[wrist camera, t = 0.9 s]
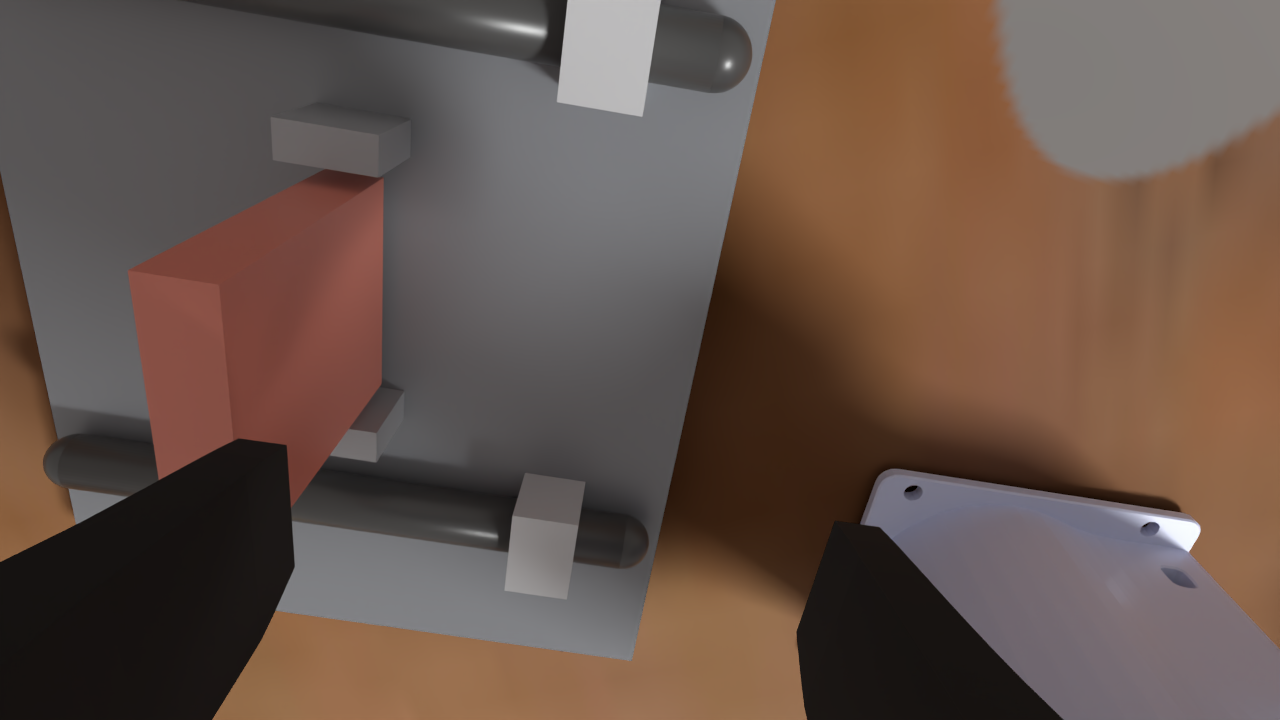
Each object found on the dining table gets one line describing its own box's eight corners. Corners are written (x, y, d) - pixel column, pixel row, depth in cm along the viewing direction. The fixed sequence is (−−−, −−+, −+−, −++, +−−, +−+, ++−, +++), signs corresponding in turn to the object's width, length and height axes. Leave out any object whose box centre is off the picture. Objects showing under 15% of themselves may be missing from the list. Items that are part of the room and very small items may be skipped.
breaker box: (809, -218, 15) (856, -287, 11) (634, 611, 24) (628, 718, 21) (-29, -381, 14) (-268, -510, 10) (132, 539, 24) (37, 637, 20)
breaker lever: (383, 177, 16) (218, 284, 10) (381, 383, 18) (245, 570, 12) (326, 168, 16) (127, 270, 10) (331, 375, 18) (170, 560, 12)
